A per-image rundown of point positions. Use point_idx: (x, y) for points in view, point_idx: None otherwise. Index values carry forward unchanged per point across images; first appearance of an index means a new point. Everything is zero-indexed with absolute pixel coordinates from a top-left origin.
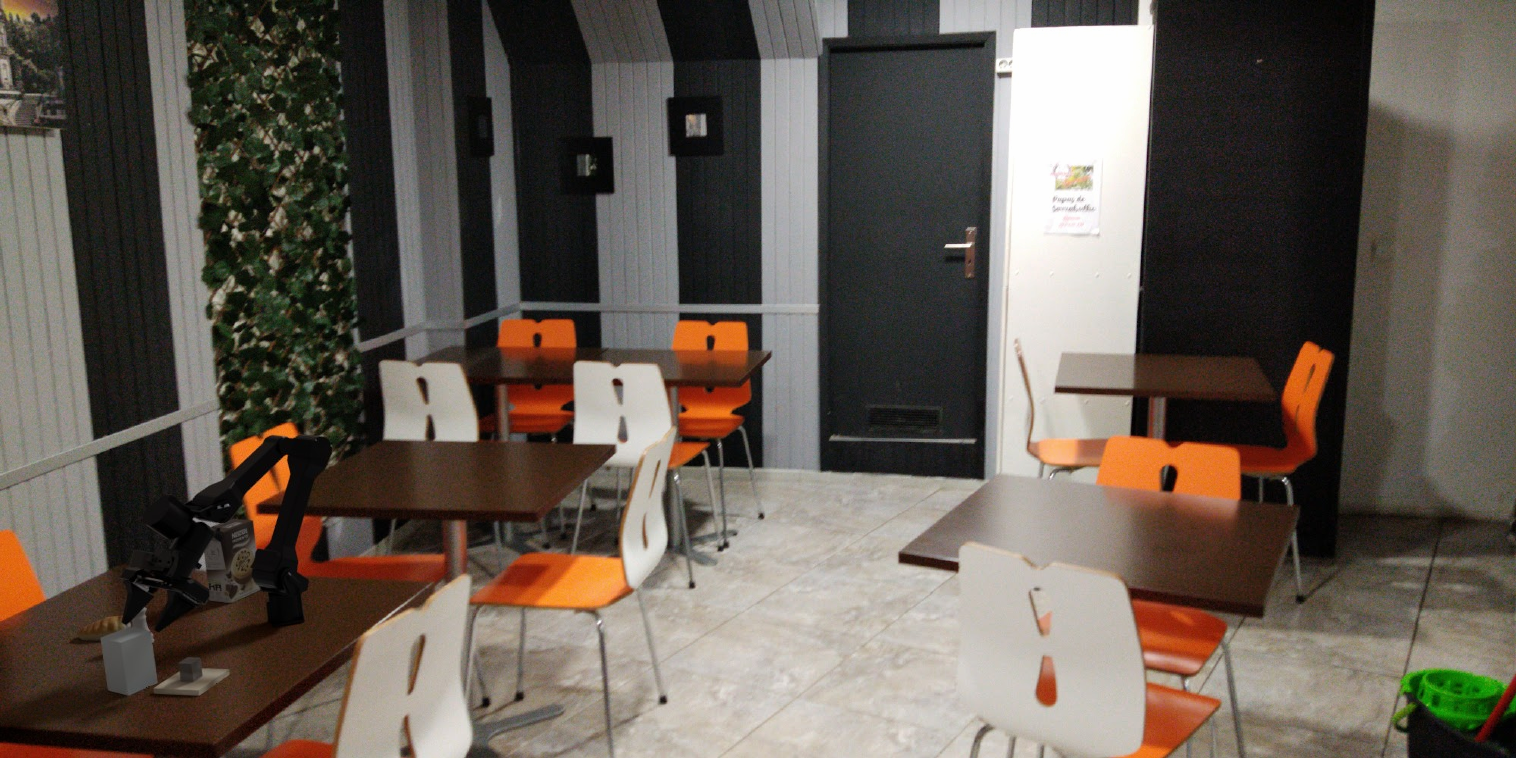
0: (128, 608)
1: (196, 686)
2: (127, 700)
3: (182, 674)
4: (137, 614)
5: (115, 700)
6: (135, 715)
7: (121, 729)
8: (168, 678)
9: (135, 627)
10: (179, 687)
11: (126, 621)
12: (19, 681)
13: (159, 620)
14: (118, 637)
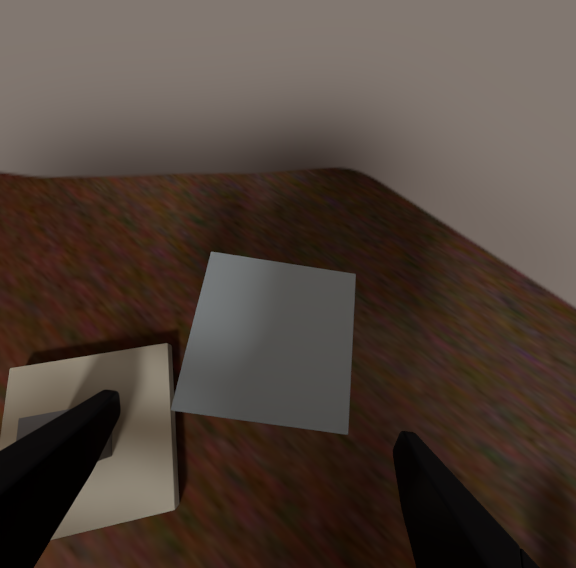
0: (449, 514)
1: (34, 389)
2: None
3: None
4: (416, 565)
5: None
6: (130, 241)
7: (114, 188)
8: (170, 413)
9: None
10: (87, 367)
11: (400, 456)
12: (567, 313)
13: (55, 426)
14: (273, 294)
